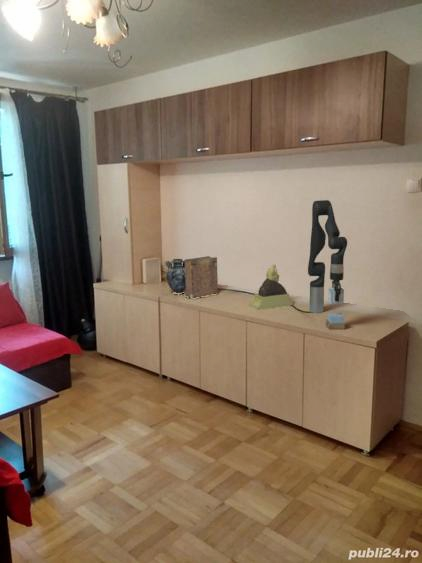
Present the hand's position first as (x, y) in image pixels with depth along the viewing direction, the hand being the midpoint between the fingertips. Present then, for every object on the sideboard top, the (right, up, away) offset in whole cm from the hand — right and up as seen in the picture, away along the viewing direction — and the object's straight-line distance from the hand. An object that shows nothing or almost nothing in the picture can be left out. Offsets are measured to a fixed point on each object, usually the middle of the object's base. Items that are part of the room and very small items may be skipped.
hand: (335, 300), depth 267 cm
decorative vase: (-99, +1, +104) cm, 144 cm away
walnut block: (0, -17, +3) cm, 17 cm away
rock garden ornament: (-30, -7, +58) cm, 65 cm away
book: (-80, -1, +93) cm, 123 cm away
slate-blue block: (+1, -13, +2) cm, 13 cm away
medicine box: (0, -2, 0) cm, 2 cm away
